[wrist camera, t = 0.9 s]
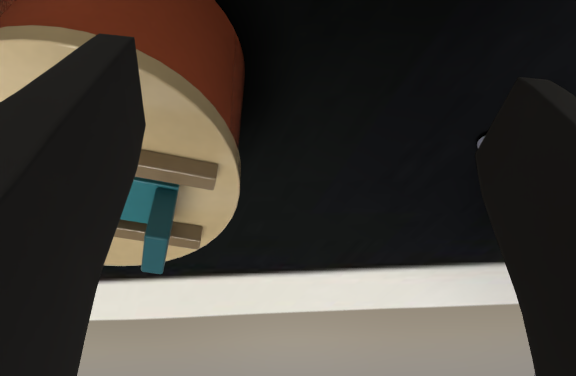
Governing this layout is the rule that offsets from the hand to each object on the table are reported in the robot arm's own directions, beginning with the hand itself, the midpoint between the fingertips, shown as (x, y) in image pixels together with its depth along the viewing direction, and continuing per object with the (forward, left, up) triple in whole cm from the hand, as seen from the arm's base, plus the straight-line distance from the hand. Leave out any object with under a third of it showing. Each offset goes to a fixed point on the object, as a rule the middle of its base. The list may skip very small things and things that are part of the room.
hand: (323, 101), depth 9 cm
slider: (-3, +8, -3) cm, 9 cm away
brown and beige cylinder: (-2, +9, -10) cm, 14 cm away
